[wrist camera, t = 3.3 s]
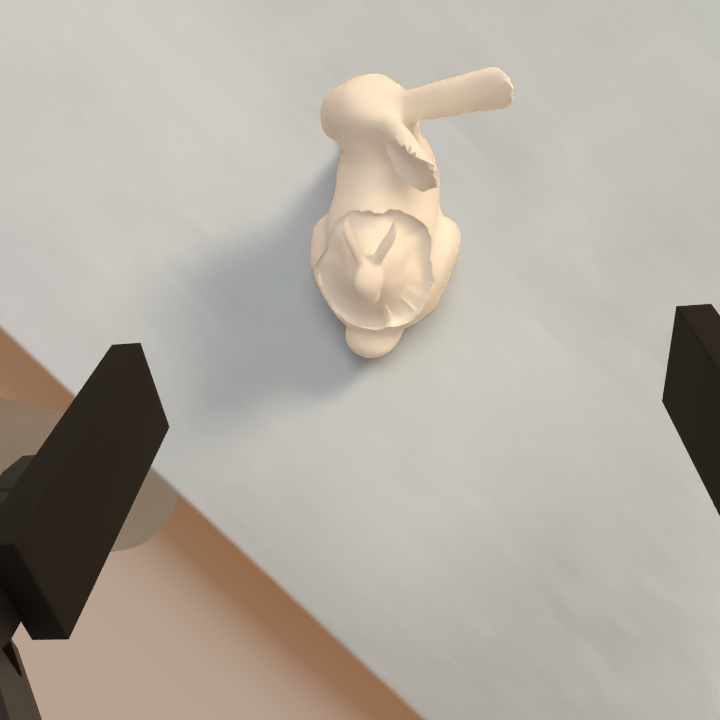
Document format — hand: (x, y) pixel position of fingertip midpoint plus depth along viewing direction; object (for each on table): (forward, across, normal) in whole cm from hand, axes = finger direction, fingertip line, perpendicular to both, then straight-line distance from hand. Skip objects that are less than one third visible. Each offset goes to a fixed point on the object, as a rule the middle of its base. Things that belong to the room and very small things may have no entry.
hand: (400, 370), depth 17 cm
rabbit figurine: (+15, 0, -3) cm, 16 cm away
